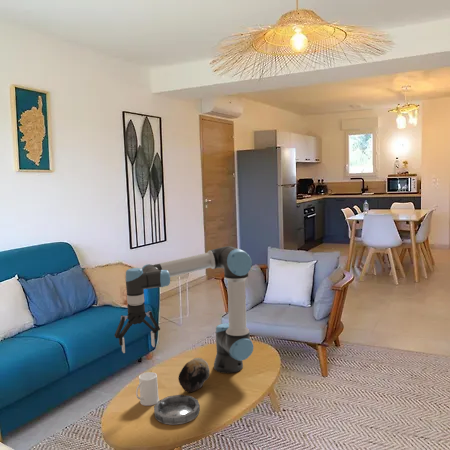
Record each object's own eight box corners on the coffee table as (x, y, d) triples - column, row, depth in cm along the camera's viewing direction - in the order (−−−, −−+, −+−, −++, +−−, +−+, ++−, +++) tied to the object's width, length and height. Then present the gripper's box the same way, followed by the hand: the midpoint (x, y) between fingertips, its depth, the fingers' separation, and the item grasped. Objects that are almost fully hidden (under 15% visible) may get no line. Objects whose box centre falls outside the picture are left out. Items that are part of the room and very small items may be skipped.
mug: (142, 411, 201) (140, 384, 199) (130, 404, 206) (128, 379, 205) (162, 400, 210) (161, 375, 208) (150, 394, 215) (149, 370, 214)
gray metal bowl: (195, 398, 210) (194, 392, 209) (203, 420, 191) (202, 413, 191) (153, 405, 205) (152, 398, 205) (157, 428, 187) (156, 421, 186)
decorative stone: (202, 380, 227) (200, 351, 226) (214, 385, 221) (213, 355, 220) (174, 394, 215) (173, 363, 213) (187, 400, 209) (186, 368, 207)
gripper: (160, 297, 214) (162, 341, 217) (105, 305, 203) (109, 351, 206) (165, 300, 207) (167, 346, 210) (109, 309, 197) (112, 357, 199)
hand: (138, 349), depth 208 cm, fingers open, 13 cm apart
